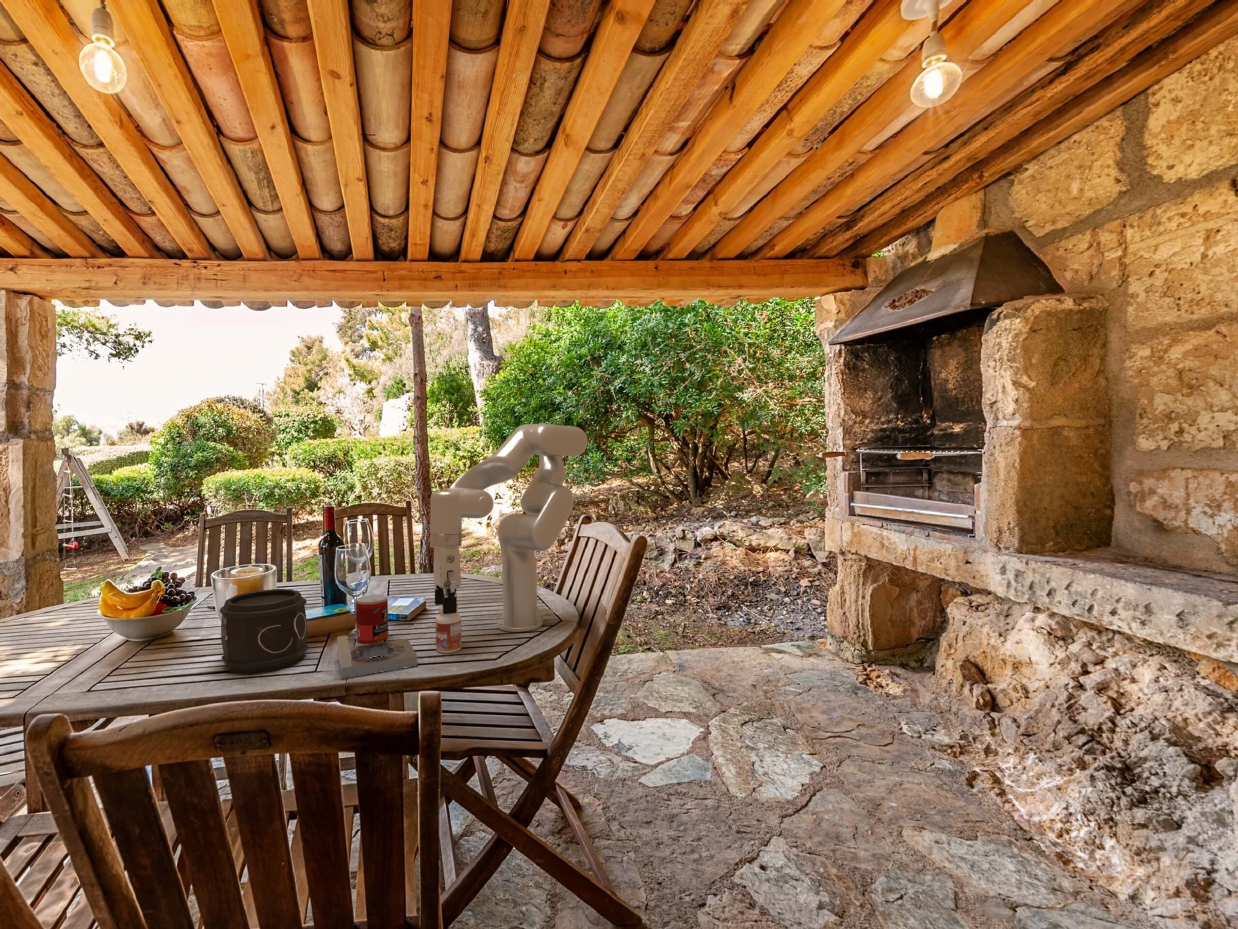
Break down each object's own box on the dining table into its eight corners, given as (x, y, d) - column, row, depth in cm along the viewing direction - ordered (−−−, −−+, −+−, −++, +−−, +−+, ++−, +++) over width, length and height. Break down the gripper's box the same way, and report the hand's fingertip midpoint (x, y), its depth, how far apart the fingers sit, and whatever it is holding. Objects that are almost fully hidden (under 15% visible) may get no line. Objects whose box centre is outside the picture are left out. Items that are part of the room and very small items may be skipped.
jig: (407, 648, 154) (407, 626, 154) (417, 666, 142) (416, 643, 142) (338, 659, 147) (337, 636, 147) (341, 679, 135) (341, 654, 134)
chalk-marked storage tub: (325, 650, 153) (324, 588, 152) (271, 678, 136) (269, 608, 135) (264, 646, 157) (262, 585, 156) (203, 672, 139) (200, 604, 139)
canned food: (377, 644, 157) (376, 602, 157) (350, 643, 159) (349, 601, 158) (394, 635, 165) (393, 595, 164) (367, 633, 166) (366, 593, 166)
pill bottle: (431, 650, 153) (430, 606, 152) (452, 643, 158) (451, 601, 157) (445, 655, 149) (444, 610, 148) (466, 649, 154) (465, 605, 153)
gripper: (469, 544, 146) (469, 615, 146) (453, 535, 161) (452, 599, 162) (437, 546, 142) (437, 619, 143) (424, 536, 158) (423, 602, 158)
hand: (445, 608), depth 152 cm, fingers open, 9 cm apart
